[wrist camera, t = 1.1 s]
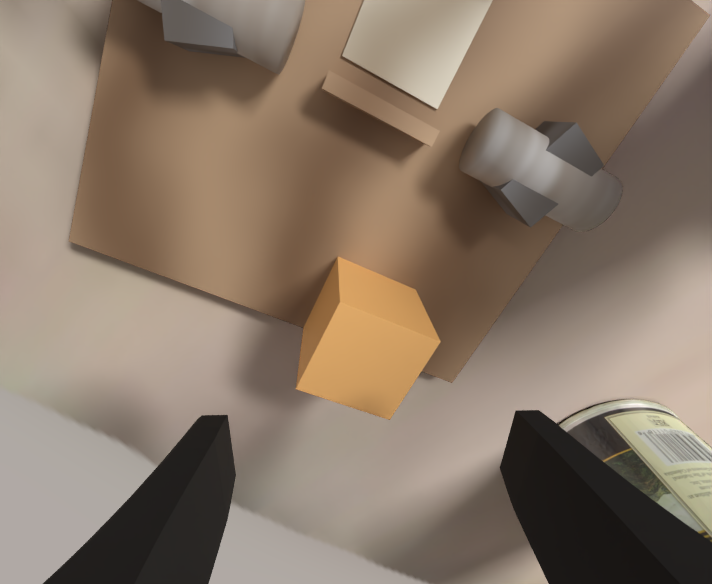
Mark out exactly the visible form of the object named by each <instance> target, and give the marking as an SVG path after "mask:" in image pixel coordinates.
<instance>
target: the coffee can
mask: <svg viewBox="0 0 712 584" xmlns="http://www.w3.org/2000/svg"><path fill="white" fill-rule="evenodd" d="M559 426H560V427H561V428H562V429H564V430H565V431H566V432H567V433H568V434H570V435H571V436H572V437H573V438H575V439H576V440H577V441H578V442H580V443H581V444H582V445H583V446H585V447H586V448H587V449H588V450H589V451H591V452H592V453H593V454H594V455H596V456H597V457H598V458H599V459H601V460H602V461H603V462H604V463H606V464H607V465H608V466H609V467H611V468H612V469H613V470H615V471H616V472H617V473H618V474H620V475H621V476H622V477H623V478H625V479H626V480H627V481H629V482H630V483H631V484H632V485H634V486H635V487H636V488H638V489H639V490H640V491H642V492H643V493H644V494H646V495H647V496H648V497H650V498H651V499H652V500H654V501H655V502H656V503H658V504H659V505H661V506H662V507H663V508H665V509H666V510H667V511H669V512H670V513H672V514H673V515H674V516H676V517H677V518H678V519H680V520H681V521H682V522H684V523H685V524H687V525H688V526H690V527H691V528H692V529H694V530H695V531H697V532H698V533H700V534H701V535H703V536H704V537H705V538H707V539H708V540H710V541H711V542H712V448H711V447H710V446H709V445H708V444H707V443H706V442H705V441H703V440H702V439H701V438H700V437H699V436H698V435H697V434H695V433H694V432H693V431H692V430H691V429H690V428H689V427H688V426H686V425H685V424H684V423H683V422H682V421H681V420H680V419H679V418H678V417H677V415H676V414H675V413H674V412H672V411H671V410H670V409H668V408H667V407H665V406H662V405H661V404H659V403H655V402H650V401H645V400H635V399H627V400H618V401H611V402H607V403H603V404H599V405H595V406H593V407H591V408H589V409H586V410H584V411H581V412H579V413H577V414H576V415H573V416H571V417H570V418H568V419H567V420H565V421H564V422H562V423H561V424H559Z"/></svg>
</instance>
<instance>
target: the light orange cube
mask: <svg viewBox="0 0 712 584" xmlns="http://www.w3.org/2000/svg"><path fill="white" fill-rule="evenodd" d="M440 342H441V341H440V339H439V337H438V335H437V333H436V331H435V329H434V327H433V325H432V323H431V320H430V318H429V316H428V314H427V312H426V310H425V308H424V306H423V304H422V302H421V300H420V298H419V296H418V293H417V291H416V289H413V288H411V287H408V286H406V285H404V284H401V283H399V282H397V281H394V280H392V279H390V278H387V277H385V276H383V275H380V274H378V273H376V272H373V271H371V270H369V269H366V268H364V267H362V266H359V265H357V264H354V263H352V262H350V261H347V260H345V259H343V258H340V257H337V259H336V261H335V263H334V265H333V267H332V269H331V271H330V273H329V276H328V278H327V280H326V282H325V284H324V286H323V288H322V290H321V292H320V294H319V296H318V299H317V301H316V303H315V305H314V307H313V309H312V311H311V313H310V315H309V317H308V319H307V321H306V324H305V326H304V328H303V335H302V343H301V351H300V359H299V367H298V375H297V383H296V389H297V390H300V391H303V392H306V393H309V394H312V395H315V396H318V397H321V398H324V399H327V400H330V401H333V402H337V403H340V404H343V405H346V406H349V407H352V408H355V409H358V410H361V411H364V412H367V413H370V414H373V415H376V416H379V417H382V418H385V419H388V420H390V419H391V417H392V416H393V414H394V412H395V411H396V409H397V408H398V406H399V405H400V403H401V402H402V400H403V399H404V397H405V396H406V394H407V393H408V391H409V390H410V388H411V386H412V385H413V383H414V382H415V380H416V379H417V377H418V376H419V374H420V373H421V371H422V370H423V368H424V367H425V365H426V364H427V362H428V360H429V359H430V357H431V356H432V354H433V353H434V351H435V350H436V348H437V347H438V345H439V344H440Z"/></svg>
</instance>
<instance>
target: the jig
mask: <svg viewBox="0 0 712 584" xmlns="http://www.w3.org/2000/svg"><path fill="white" fill-rule="evenodd" d="M709 16H710V15H709V14H708V13H707V12H706V11H704V10H703V9H702V8H700V7H699V6H698V5H697V4H695V3H694V2H693V1H691V0H112V5H111V10H110V16H109V21H108V27H107V32H106V38H105V43H104V49H103V54H102V60H101V65H100V71H99V76H98V82H97V88H96V93H95V99H94V104H93V110H92V115H91V121H90V126H89V132H88V137H87V143H86V148H85V154H84V159H83V165H82V171H81V176H80V182H79V187H78V193H77V198H76V204H75V209H74V215H73V220H72V226H71V231H70V237H69V242H72V243H75V244H78V245H80V246H83V247H86V248H88V249H91V250H94V251H97V252H99V253H102V254H105V255H107V256H110V257H113V258H115V259H118V260H121V261H124V262H126V263H129V264H132V265H134V266H137V267H140V268H143V269H145V270H148V271H151V272H153V273H156V274H159V275H162V276H164V277H167V278H170V279H172V280H175V281H178V282H180V283H183V284H186V285H189V286H191V287H194V288H197V289H199V290H202V291H205V292H208V293H210V294H213V295H216V296H218V297H221V298H224V299H226V300H229V301H232V302H235V303H237V304H240V305H243V306H245V307H248V308H251V309H254V310H256V311H259V312H262V313H264V314H267V315H270V316H273V317H275V318H278V319H281V320H283V321H286V322H289V323H291V324H294V325H297V326H300V327H302V328H304V326H305V324H306V321H307V319H308V317H309V315H310V313H311V311H312V309H313V307H314V305H315V303H316V301H317V299H318V296H319V294H320V292H321V290H322V288H323V286H324V284H325V282H326V280H327V278H328V276H329V273H330V271H331V269H332V267H333V265H334V263H335V261H336V259H337V257H340V258H343V259H345V260H347V261H350V262H352V263H354V264H357V265H359V266H362V267H364V268H366V269H369V270H371V271H373V272H376V273H378V274H380V275H383V276H385V277H387V278H390V279H392V280H394V281H397V282H399V283H401V284H404V285H406V286H408V287H411V288H413V289H416V291H417V293H418V296H419V298H420V300H421V302H422V304H423V306H424V308H425V310H426V312H427V314H428V316H429V318H430V320H431V323H432V325H433V327H434V329H435V331H436V333H437V335H438V337H439V339H440V341H441V342H440V344H439V345H438V347H437V348H436V350H435V351H434V353H433V354H432V356H431V357H430V359H429V360H428V362H427V364H426V365H425V367H424V368H423V370H422V371H421V372H424V373H427V374H430V375H432V376H435V377H438V378H440V379H443V380H446V381H448V382H451V383H452V382H453V381H454V379H455V378H456V377H457V375H458V374H459V372H460V371H461V369H462V368H463V367H464V365H465V364H466V362H467V361H468V359H469V358H470V357H471V355H472V354H473V352H474V351H475V349H476V348H477V347H478V345H479V344H480V342H481V341H482V339H483V338H484V337H485V335H486V334H487V332H488V331H489V330H490V328H491V327H492V325H493V324H494V322H495V321H496V320H497V318H498V317H499V315H500V314H501V312H502V311H503V310H504V308H505V307H506V305H507V304H508V302H509V301H510V300H511V298H512V297H513V295H514V294H515V292H516V291H517V290H518V288H519V287H520V285H521V284H522V283H523V281H524V280H525V278H526V277H527V275H528V274H529V273H530V271H531V270H532V268H533V267H534V265H535V264H536V263H537V261H538V260H539V258H540V257H541V255H542V254H543V253H544V251H545V250H546V248H547V247H548V246H549V244H550V243H551V241H552V240H553V238H554V237H555V236H556V234H557V233H558V231H559V230H560V228H561V227H562V226H563V225H565V226H567V227H568V228H570V229H572V230H574V231H577V232H585V231H589V230H591V229H594V228H595V227H597V226H599V225H600V224H601V223H603V222H604V221H605V220H606V219H607V218H608V217H609V216H610V215H611V214H612V213H613V211H614V210H615V208H616V207H617V205H618V203H619V201H620V199H621V196H622V183H621V181H620V180H619V179H618V178H616V177H615V176H613V175H611V174H610V173H608V172H606V171H605V170H603V167H604V166H605V164H606V163H607V162H608V160H609V159H610V157H611V156H612V154H613V153H614V152H615V150H616V149H617V147H618V146H619V144H620V143H621V142H622V140H623V139H624V137H625V136H626V134H627V133H628V132H629V130H630V129H631V127H632V126H633V124H634V123H635V122H636V120H637V119H638V117H639V116H640V115H641V113H642V112H643V110H644V109H645V107H646V106H647V105H648V103H649V102H650V100H651V99H652V97H653V96H654V95H655V93H656V92H657V90H658V89H659V87H660V86H661V85H662V83H663V82H664V80H665V79H666V78H667V76H668V75H669V73H670V72H671V70H672V69H673V68H674V66H675V65H676V63H677V62H678V60H679V59H680V58H681V56H682V55H683V53H684V52H685V50H686V49H687V48H688V46H689V45H690V43H691V42H692V40H693V39H694V38H695V36H696V35H697V33H698V32H699V31H700V29H701V28H702V26H703V25H704V23H705V22H706V21H707V19H708V18H709Z"/></svg>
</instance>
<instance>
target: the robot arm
mask: <svg viewBox="0 0 712 584" xmlns="http://www.w3.org/2000/svg"><path fill="white" fill-rule="evenodd" d="M500 470H501V473H502V476H503V479H504V482H505V485H506V488H507V491H508V494H509V497H510V500H511V503H512V505H513V508H514V511H515V513H516V515H517V517H518V519H519V522H520V524H521V526H522V528H523V530H524V532H525V534H526V537H527V539H528V541H529V543H530V545H531V547H532V549H533V551H534V554H535V556H536V558H537V560H538V562H539V564H540V566H541V568H542V570H543V572H544V575H545V577H546V579H547V581H548V583H549V584H712V542H711V541H710V540H708V539H707V538H705V537H704V536H703V535H701V534H700V533H698V532H697V531H695V530H694V529H692V528H691V527H690V526H688V525H687V524H685V523H684V522H682V521H681V520H680V519H678V518H677V517H676V516H674V515H673V514H672V513H670V512H669V511H667V510H666V509H665V508H663V507H662V506H661V505H659V504H658V503H656V502H655V501H654V500H652V499H651V498H650V497H648V496H647V495H646V494H644V493H643V492H642V491H640V490H639V489H638V488H636V487H635V486H634V485H632V484H631V483H630V482H629V481H627V480H626V479H625V478H623V477H622V476H621V475H620V474H618V473H617V472H616V471H615V470H613V469H612V468H611V467H609V466H608V465H607V464H606V463H604V462H603V461H602V460H601V459H599V458H598V457H597V456H596V455H594V454H593V453H592V452H591V451H589V450H588V449H587V448H586V447H585V446H583V445H582V444H581V443H580V442H578V441H577V440H576V439H575V438H573V437H572V436H571V435H570V434H568V433H567V432H566V431H565V430H564V429H562V428H561V427H560V426H559V425H557V424H556V423H555V422H554V421H552V420H551V419H550V418H548V417H547V416H546V415H544V414H543V413H542V412H540V411H539V410H527V411H516V412H515V415H514V419H513V423H512V426H511V430H510V433H509V437H508V441H507V444H506V448H505V451H504V455H503V459H502V462H501V466H500ZM235 476H236V473H235V466H234V459H233V451H232V444H231V437H230V430H229V422H228V415H205V416H201V417H200V418H199V419H197V421H196V422H195V423H194V424H193V425H192V427H191V428H190V429H189V430H188V431H187V433H186V434H185V435H184V436H183V437H182V439H181V440H180V441H179V442H178V443H177V445H176V446H175V447H174V448H173V449H172V451H171V452H170V453H169V454H168V455H167V456H166V458H165V459H164V460H163V461H162V462H161V463H160V465H159V466H158V467H157V468H156V469H155V470H154V472H152V474H151V475H150V476H149V477H148V478H147V479H146V480H145V481H144V483H143V484H142V485H141V486H140V487H139V488H138V489H137V490H136V491H135V493H134V494H133V495H132V496H131V497H130V498H129V499H128V500H127V501H126V502H125V503H124V504H123V505H122V506H121V508H119V509H118V510H117V512H116V513H115V514H114V515H113V516H112V517H111V518H110V519H109V520H108V521H107V522H106V523H105V524H104V525H103V526H102V527H101V528H100V529H99V530H98V531H97V532H96V533H95V534H94V535H93V536H92V537H91V538H90V539H89V540H88V541H87V542H86V543H85V544H84V545H83V546H82V547H81V548H80V549H79V550H78V551H77V552H76V553H75V554H74V555H73V556H72V557H71V558H70V559H69V560H68V561H67V562H66V563H65V564H63V565H62V567H61V568H59V569H58V570H57V571H56V572H55V573H54V574H53V575H52V576H51V577H50V578H48V579H47V580H46V581H45V582H44V583H43V584H208V583H209V580H210V577H211V573H212V570H213V567H214V563H215V560H216V556H217V553H218V550H219V546H220V543H221V539H222V536H223V533H224V529H225V526H226V522H227V519H228V513H229V509H230V504H231V498H232V493H233V487H234V482H235Z"/></svg>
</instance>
